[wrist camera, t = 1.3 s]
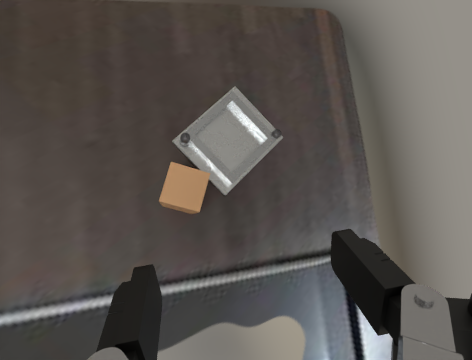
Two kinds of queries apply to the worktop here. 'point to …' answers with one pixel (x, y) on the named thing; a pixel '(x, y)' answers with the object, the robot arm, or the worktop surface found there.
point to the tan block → (184, 188)
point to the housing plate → (228, 140)
